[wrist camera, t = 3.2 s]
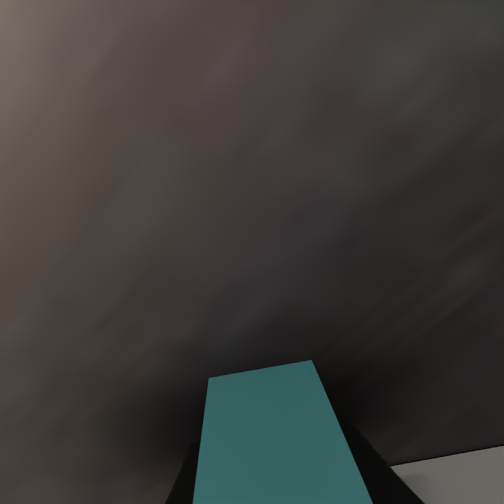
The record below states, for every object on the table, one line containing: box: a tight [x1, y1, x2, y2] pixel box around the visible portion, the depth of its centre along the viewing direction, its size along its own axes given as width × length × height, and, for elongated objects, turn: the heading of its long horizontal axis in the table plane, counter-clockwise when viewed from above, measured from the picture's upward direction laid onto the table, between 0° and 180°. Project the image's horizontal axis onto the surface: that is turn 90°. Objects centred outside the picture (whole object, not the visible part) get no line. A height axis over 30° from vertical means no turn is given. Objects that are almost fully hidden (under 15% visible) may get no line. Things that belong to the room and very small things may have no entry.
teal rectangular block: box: [193, 360, 373, 504], centre depth 9 cm, size 4×4×6 cm
